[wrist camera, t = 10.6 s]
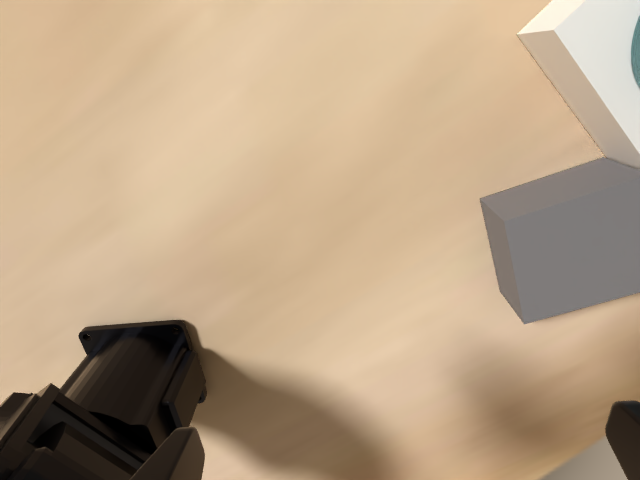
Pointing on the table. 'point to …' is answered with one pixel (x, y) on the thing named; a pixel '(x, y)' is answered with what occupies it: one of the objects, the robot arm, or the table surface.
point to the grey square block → (566, 239)
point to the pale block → (592, 68)
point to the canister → (636, 52)
